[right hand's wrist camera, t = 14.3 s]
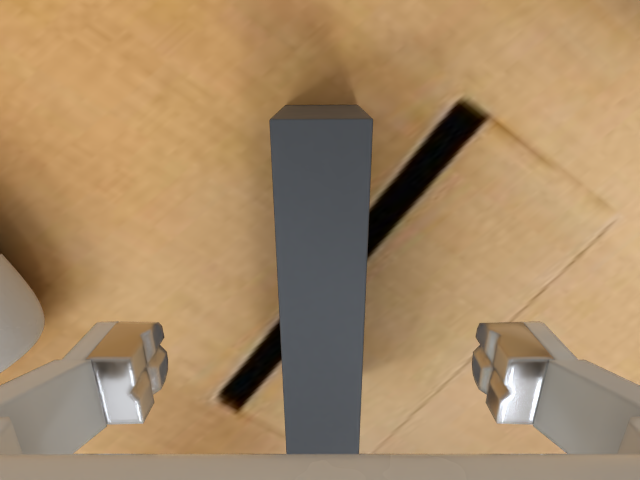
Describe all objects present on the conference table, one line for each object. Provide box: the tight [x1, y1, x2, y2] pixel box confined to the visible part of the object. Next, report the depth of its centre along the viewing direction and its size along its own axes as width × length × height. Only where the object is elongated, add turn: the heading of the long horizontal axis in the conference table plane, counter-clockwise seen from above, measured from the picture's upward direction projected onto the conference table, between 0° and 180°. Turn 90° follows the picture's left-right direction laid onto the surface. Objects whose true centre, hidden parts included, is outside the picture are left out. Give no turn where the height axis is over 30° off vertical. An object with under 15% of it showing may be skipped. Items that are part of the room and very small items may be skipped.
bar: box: [270, 105, 373, 454], centre depth 27 cm, size 23×5×9 cm, turn 1°
